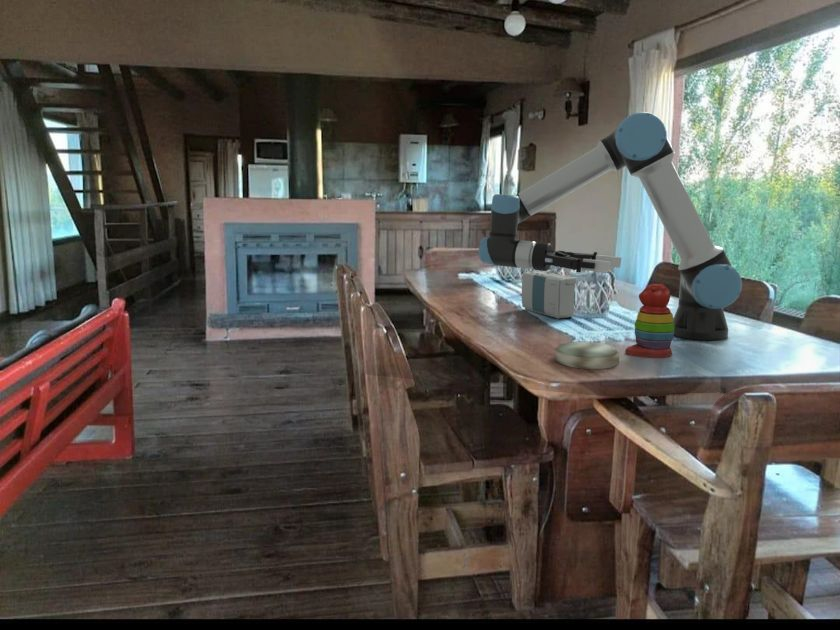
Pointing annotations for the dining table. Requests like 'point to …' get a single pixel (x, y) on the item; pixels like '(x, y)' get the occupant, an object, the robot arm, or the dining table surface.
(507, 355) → the dining table surface
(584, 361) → the stand
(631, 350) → the stacking bear
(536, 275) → the stereo radio cassette player
